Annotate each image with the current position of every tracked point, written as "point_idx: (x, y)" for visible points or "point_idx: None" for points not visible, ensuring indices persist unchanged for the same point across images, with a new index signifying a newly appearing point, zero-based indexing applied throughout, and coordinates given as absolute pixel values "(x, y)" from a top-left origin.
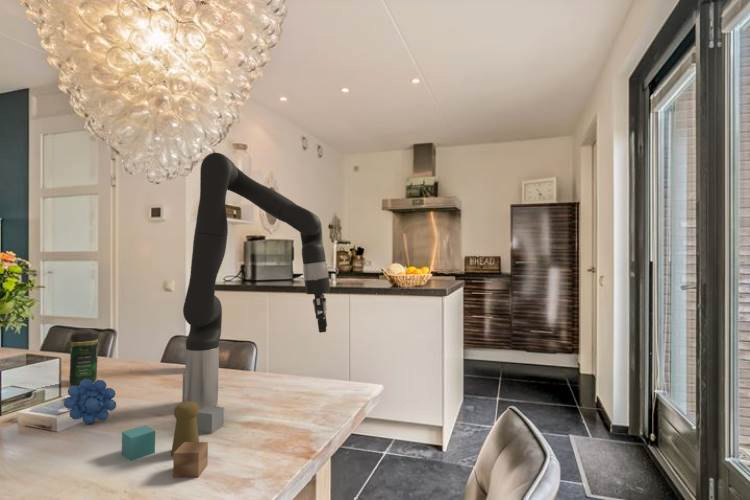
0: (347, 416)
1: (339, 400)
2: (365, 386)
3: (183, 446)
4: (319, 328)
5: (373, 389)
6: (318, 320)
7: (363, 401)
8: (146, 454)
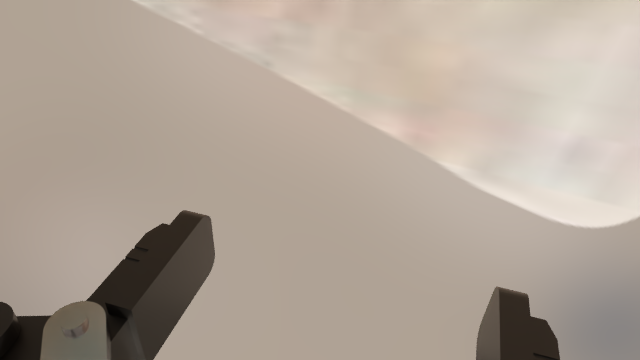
0: (264, 56)
1: (449, 58)
2: (613, 195)
3: None
4: (164, 240)
5: (552, 208)
6: (106, 309)
7: (412, 140)
8: None
